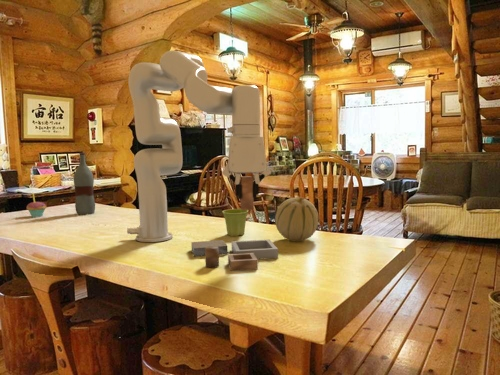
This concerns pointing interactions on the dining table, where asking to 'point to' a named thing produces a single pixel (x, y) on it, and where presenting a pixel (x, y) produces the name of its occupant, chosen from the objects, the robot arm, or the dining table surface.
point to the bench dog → (212, 256)
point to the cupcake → (36, 208)
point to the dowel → (247, 193)
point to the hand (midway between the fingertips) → (247, 197)
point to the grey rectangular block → (199, 247)
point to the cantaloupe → (296, 219)
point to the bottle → (84, 188)
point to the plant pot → (235, 221)
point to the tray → (256, 248)
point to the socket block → (242, 261)
